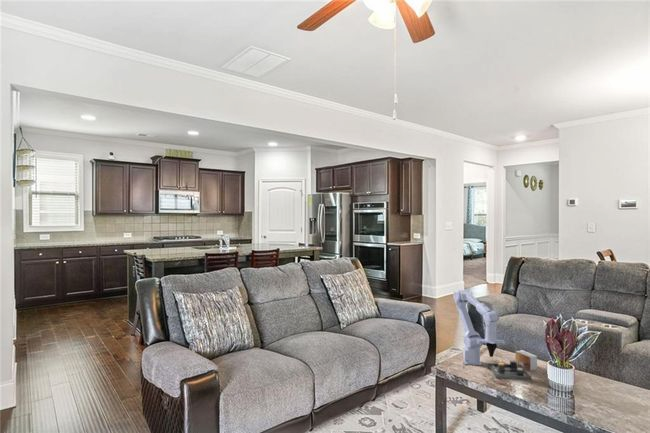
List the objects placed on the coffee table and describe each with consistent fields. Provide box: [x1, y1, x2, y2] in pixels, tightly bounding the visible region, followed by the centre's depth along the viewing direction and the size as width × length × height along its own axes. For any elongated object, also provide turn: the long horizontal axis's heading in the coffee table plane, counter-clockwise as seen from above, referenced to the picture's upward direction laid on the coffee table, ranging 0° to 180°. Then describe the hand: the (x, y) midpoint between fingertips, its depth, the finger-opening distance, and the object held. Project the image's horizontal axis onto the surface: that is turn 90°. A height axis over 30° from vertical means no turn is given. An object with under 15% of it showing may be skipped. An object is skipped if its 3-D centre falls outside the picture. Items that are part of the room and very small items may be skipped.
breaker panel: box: [488, 359, 532, 381], centre depth 212 cm, size 18×16×5 cm
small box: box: [515, 349, 538, 371], centre depth 220 cm, size 8×6×10 cm
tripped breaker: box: [498, 362, 505, 371], centre depth 213 cm, size 3×2×4 cm
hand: (491, 356), depth 213 cm, fingers closed
